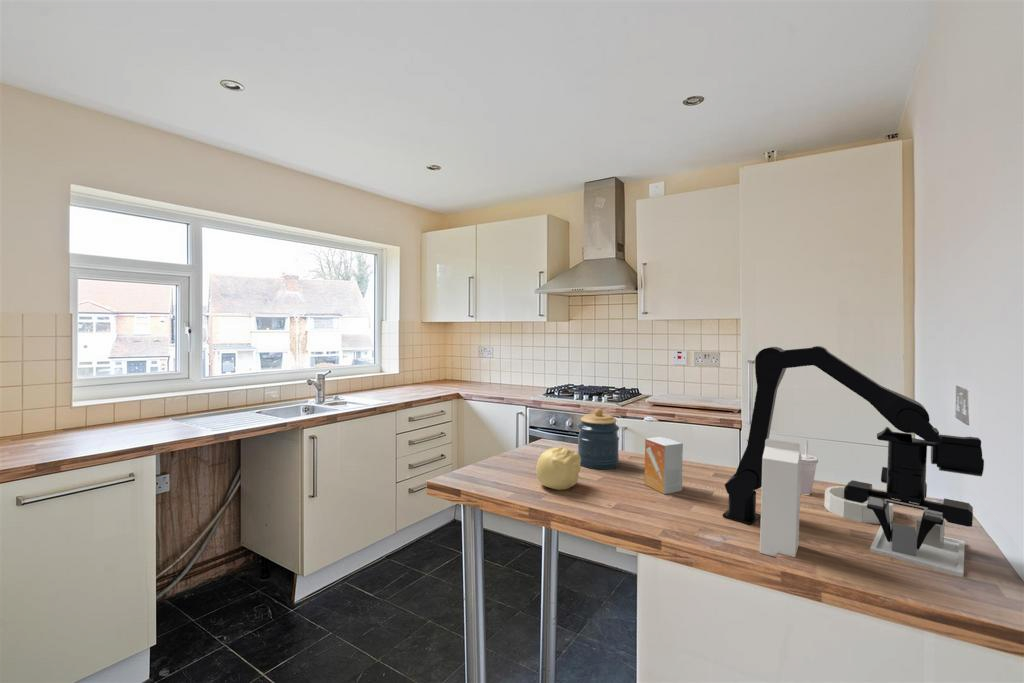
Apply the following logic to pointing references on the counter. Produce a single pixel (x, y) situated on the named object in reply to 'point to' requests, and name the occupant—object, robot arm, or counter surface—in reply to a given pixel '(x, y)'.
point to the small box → (663, 464)
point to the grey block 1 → (903, 539)
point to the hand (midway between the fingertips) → (903, 544)
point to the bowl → (851, 507)
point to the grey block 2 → (933, 534)
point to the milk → (780, 498)
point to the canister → (598, 441)
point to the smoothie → (807, 471)
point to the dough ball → (558, 468)
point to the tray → (927, 554)
